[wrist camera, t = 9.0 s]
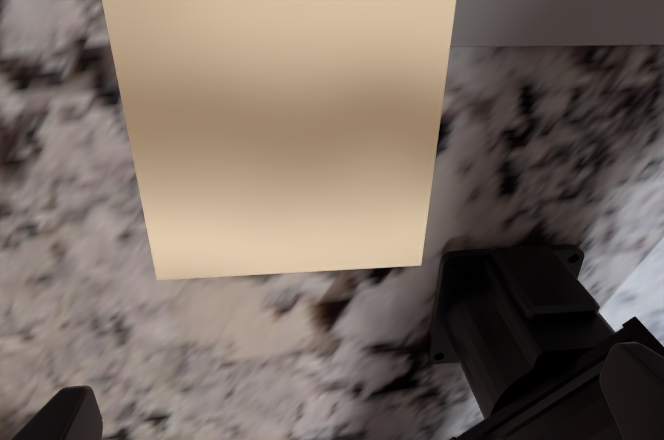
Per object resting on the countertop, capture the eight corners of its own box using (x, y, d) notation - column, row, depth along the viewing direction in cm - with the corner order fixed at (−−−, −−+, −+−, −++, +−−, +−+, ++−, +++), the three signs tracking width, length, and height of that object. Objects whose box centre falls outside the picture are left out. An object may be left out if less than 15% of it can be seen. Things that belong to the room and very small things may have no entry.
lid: (404, 227, 16) (421, 265, 14) (168, 239, 15) (156, 280, 14) (431, -25, 12) (457, -15, 11) (122, -27, 12) (99, -16, 10)
